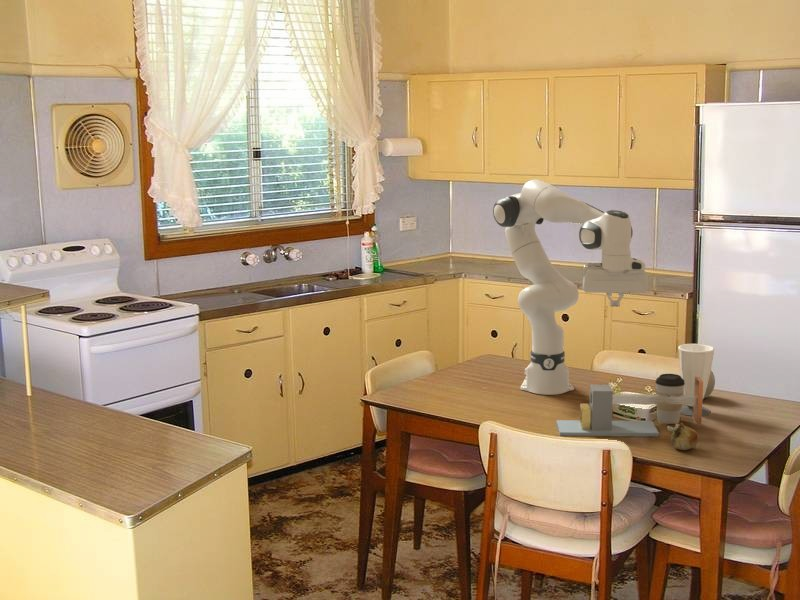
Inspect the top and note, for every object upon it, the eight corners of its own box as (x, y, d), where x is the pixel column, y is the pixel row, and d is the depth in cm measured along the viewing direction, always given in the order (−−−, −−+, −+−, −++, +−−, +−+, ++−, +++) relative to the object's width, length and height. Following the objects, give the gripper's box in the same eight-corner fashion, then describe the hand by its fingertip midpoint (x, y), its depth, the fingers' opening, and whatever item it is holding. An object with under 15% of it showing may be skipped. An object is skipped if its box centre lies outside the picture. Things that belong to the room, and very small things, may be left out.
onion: (686, 455, 282) (687, 428, 281) (664, 448, 289) (665, 422, 287) (702, 450, 287) (704, 423, 285) (680, 442, 293) (681, 417, 291)
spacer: (579, 423, 309) (580, 403, 308) (587, 423, 309) (588, 403, 307) (581, 429, 303) (582, 409, 302) (590, 429, 303) (590, 409, 302)
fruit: (682, 401, 333) (683, 359, 331) (682, 392, 344) (684, 351, 341) (714, 404, 330) (716, 361, 328) (714, 394, 341) (716, 353, 338)
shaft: (602, 417, 308) (603, 376, 305) (696, 418, 306) (698, 376, 303) (604, 423, 302) (606, 381, 300) (701, 424, 300) (703, 381, 298)
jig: (556, 423, 312) (557, 382, 310) (651, 424, 310) (653, 382, 308) (559, 435, 301) (560, 393, 298) (659, 436, 299) (660, 393, 296)
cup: (687, 418, 316) (690, 353, 312) (668, 407, 327) (671, 345, 323) (718, 414, 319) (721, 350, 315) (698, 404, 330) (701, 342, 326)
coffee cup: (648, 420, 314) (650, 375, 311) (663, 414, 320) (665, 369, 317) (673, 426, 308) (675, 380, 305) (688, 420, 314) (690, 374, 311)
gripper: (583, 264, 304) (582, 308, 307) (650, 264, 303) (648, 308, 305) (581, 261, 310) (580, 304, 313) (646, 261, 309) (645, 304, 311)
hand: (614, 306), depth 309 cm, fingers closed
